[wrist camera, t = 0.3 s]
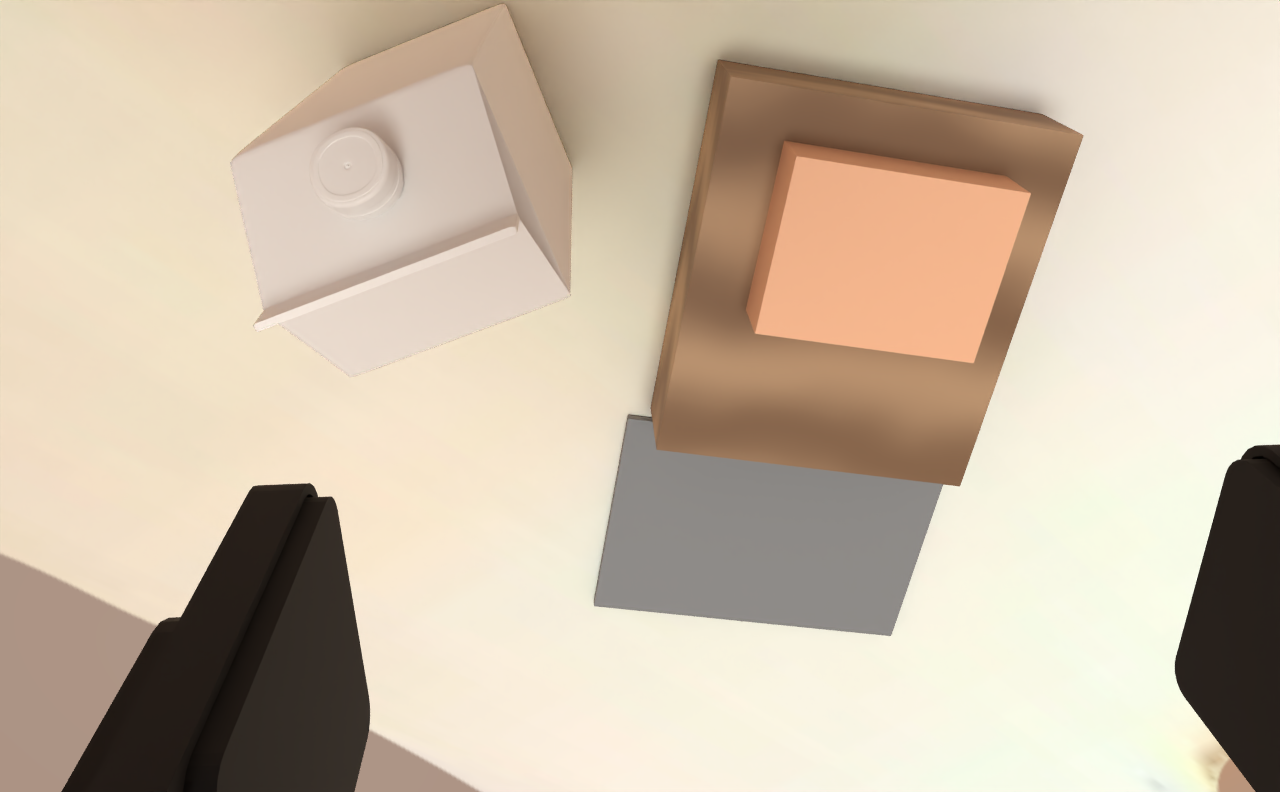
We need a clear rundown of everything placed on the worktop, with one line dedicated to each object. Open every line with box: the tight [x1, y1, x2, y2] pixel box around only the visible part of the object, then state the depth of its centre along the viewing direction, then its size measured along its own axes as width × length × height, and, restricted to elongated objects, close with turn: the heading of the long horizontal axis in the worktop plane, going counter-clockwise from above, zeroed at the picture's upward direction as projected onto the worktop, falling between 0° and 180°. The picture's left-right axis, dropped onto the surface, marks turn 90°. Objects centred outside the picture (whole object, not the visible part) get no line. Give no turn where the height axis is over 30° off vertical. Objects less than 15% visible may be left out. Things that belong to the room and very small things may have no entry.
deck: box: [651, 60, 1083, 486], centre depth 45 cm, size 16×14×4 cm
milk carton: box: [230, 4, 572, 377], centre depth 34 cm, size 7×7×19 cm
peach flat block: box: [746, 141, 1031, 363], centre depth 41 cm, size 7×9×2 cm
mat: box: [594, 415, 943, 636], centre depth 52 cm, size 11×16×1 cm
